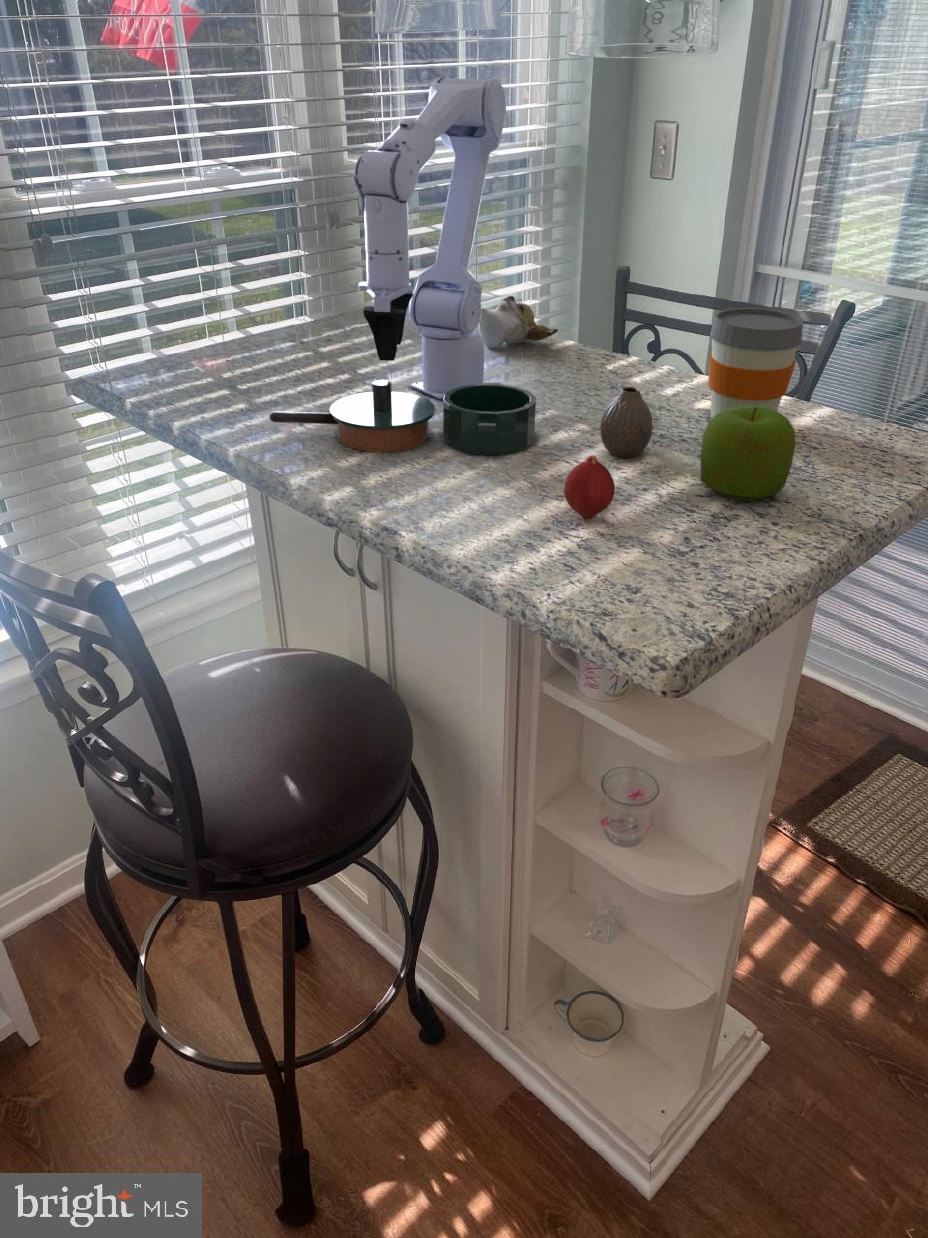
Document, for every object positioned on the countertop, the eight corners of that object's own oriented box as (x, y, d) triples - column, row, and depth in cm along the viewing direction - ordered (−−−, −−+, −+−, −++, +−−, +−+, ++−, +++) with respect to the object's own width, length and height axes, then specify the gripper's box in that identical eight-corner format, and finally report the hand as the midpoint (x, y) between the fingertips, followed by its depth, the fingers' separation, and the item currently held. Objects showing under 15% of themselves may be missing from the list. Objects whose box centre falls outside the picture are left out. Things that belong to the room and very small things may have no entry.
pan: (432, 421, 144) (432, 398, 142) (423, 453, 133) (423, 428, 131) (346, 418, 145) (345, 395, 143) (331, 450, 134) (329, 425, 132)
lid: (439, 400, 143) (439, 368, 141) (430, 435, 131) (429, 401, 128) (339, 397, 144) (338, 365, 141) (321, 432, 131) (318, 397, 129)
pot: (533, 418, 146) (535, 379, 142) (533, 464, 130) (535, 421, 127) (448, 415, 146) (449, 376, 143) (438, 461, 131) (438, 418, 128)
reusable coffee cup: (804, 427, 144) (824, 323, 136) (741, 442, 138) (758, 334, 130) (742, 402, 153) (758, 303, 145) (680, 415, 147) (694, 313, 139)
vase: (617, 465, 130) (624, 400, 126) (588, 447, 136) (593, 385, 131) (659, 456, 133) (667, 393, 129) (629, 439, 138) (636, 378, 134)
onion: (558, 508, 118) (562, 445, 114) (605, 507, 119) (611, 444, 115) (567, 529, 113) (571, 464, 109) (616, 528, 114) (622, 463, 110)
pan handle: (344, 422, 139) (344, 412, 138) (343, 425, 138) (342, 415, 137) (271, 419, 139) (270, 409, 139) (268, 423, 138) (267, 413, 137)
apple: (712, 467, 130) (724, 387, 124) (794, 485, 125) (811, 402, 120) (683, 497, 122) (695, 412, 116) (770, 516, 117) (787, 429, 111)
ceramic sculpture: (462, 293, 175) (523, 286, 184) (459, 342, 179) (519, 333, 188) (502, 305, 168) (564, 298, 177) (498, 356, 172) (558, 346, 181)
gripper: (365, 239, 137) (369, 336, 144) (349, 260, 125) (354, 366, 132) (415, 240, 137) (417, 337, 144) (404, 261, 125) (406, 367, 132)
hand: (390, 351), depth 138 cm, fingers open, 7 cm apart
